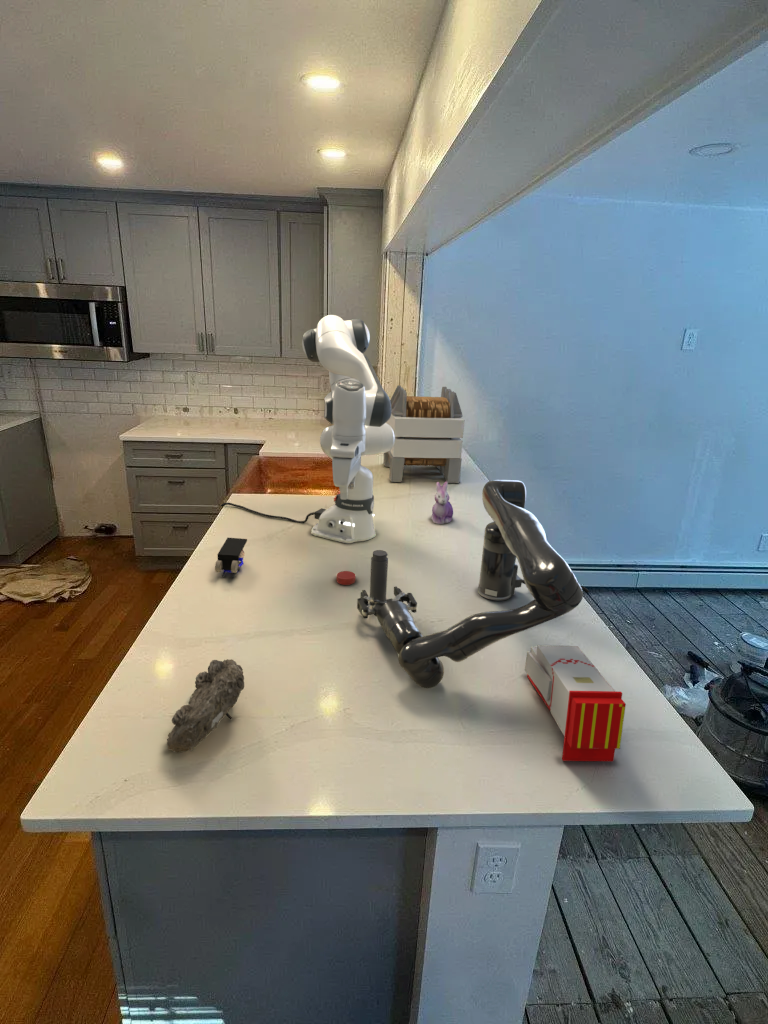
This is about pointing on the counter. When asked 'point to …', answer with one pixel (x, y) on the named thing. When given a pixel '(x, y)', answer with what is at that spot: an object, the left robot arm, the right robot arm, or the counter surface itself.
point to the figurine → (442, 505)
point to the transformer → (426, 434)
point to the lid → (345, 577)
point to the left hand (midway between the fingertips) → (347, 493)
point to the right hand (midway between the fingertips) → (379, 591)
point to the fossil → (206, 705)
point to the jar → (378, 575)
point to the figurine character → (230, 556)
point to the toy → (578, 701)
